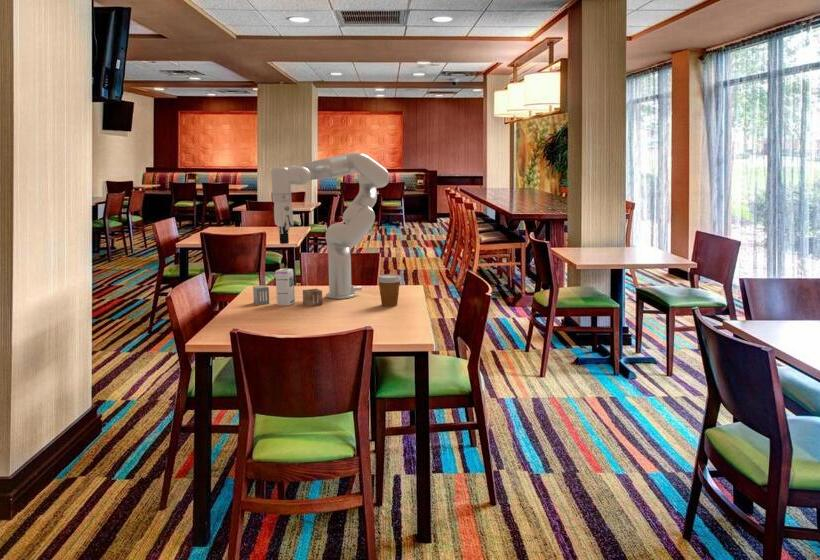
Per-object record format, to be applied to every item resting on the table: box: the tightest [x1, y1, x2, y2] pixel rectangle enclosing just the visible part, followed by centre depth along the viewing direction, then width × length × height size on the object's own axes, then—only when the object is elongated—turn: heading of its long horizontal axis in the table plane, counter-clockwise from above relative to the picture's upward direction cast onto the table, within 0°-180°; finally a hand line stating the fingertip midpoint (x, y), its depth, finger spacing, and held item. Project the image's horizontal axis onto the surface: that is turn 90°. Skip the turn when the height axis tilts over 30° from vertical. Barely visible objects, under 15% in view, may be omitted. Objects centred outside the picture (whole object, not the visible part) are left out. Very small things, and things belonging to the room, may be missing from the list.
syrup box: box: [274, 268, 296, 307], centre depth 297 cm, size 6×6×14 cm
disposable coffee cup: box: [376, 273, 402, 307], centre depth 292 cm, size 10×10×12 cm
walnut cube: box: [302, 288, 323, 308], centre depth 296 cm, size 6×6×6 cm
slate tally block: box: [252, 285, 270, 306], centre depth 299 cm, size 5×5×7 cm
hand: (284, 243), depth 294 cm, fingers closed
